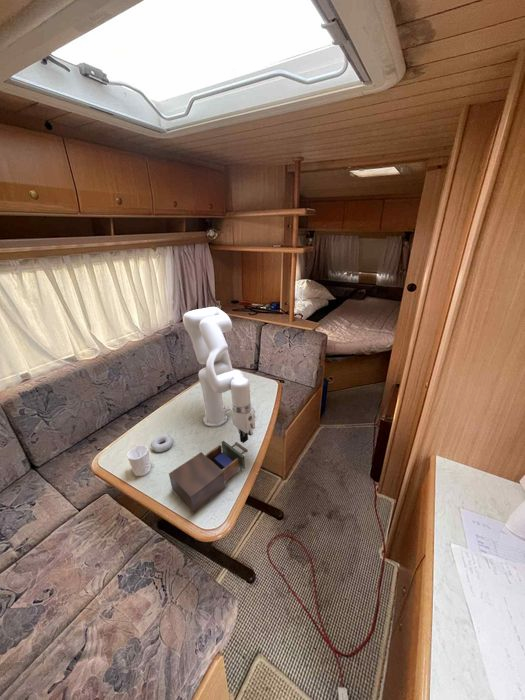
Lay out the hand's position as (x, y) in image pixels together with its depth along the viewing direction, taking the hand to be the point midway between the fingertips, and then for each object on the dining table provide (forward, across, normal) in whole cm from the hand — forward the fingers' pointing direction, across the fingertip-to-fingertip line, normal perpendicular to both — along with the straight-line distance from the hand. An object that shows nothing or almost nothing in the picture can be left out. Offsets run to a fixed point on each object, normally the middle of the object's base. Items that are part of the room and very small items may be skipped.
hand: (244, 440), depth 120 cm
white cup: (+8, +26, +36) cm, 45 cm away
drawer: (+7, 0, +10) cm, 12 cm away
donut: (+8, +33, +23) cm, 41 cm away
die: (+8, +18, -18) cm, 27 cm away
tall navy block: (+6, 0, +12) cm, 13 cm away
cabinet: (+8, 0, +25) cm, 26 cm away
